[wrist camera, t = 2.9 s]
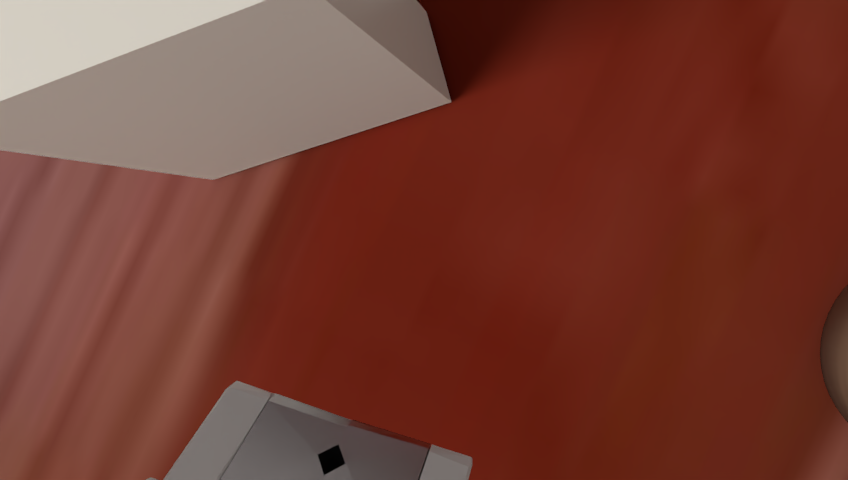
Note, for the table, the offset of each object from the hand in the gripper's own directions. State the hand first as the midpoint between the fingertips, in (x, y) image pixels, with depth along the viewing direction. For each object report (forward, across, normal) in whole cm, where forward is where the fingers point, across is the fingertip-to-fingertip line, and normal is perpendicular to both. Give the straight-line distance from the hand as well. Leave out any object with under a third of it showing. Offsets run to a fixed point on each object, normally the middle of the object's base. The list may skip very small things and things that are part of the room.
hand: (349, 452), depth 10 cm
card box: (+20, -8, -6) cm, 22 cm away
